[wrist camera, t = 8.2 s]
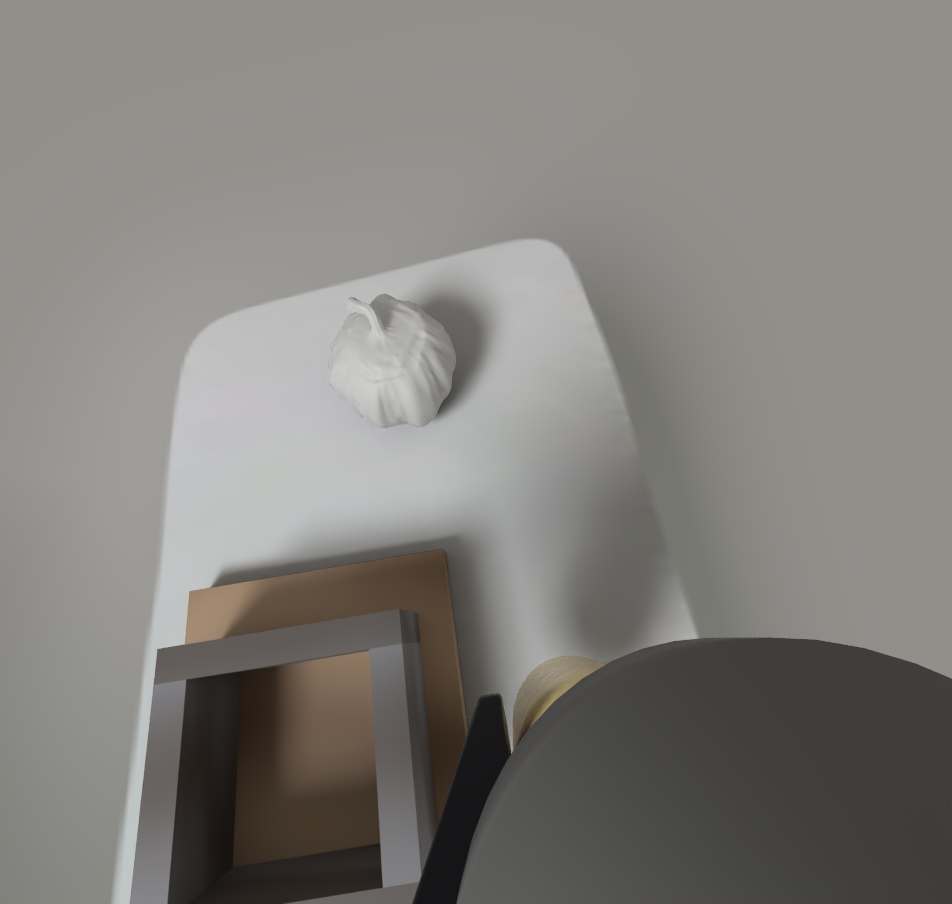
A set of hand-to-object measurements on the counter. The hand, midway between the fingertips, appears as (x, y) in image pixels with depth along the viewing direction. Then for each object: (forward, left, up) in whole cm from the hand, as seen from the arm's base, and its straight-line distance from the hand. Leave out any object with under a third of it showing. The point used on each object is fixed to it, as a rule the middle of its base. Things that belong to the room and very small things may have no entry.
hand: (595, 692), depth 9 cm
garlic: (+13, +4, -9) cm, 16 cm away
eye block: (-1, +8, -9) cm, 12 cm away
